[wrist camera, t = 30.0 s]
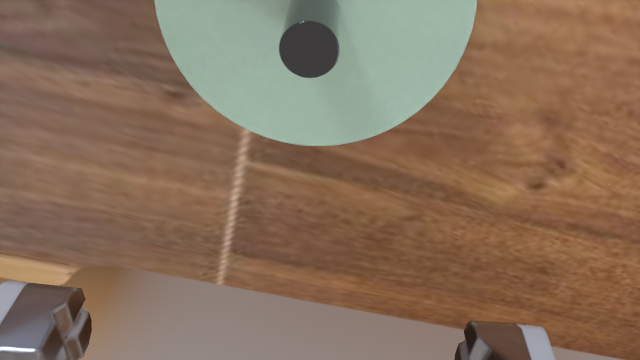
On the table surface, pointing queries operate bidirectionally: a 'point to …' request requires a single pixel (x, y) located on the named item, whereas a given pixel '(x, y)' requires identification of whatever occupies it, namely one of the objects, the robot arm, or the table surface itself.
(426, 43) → the lid
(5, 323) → the robot arm
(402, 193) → the table surface
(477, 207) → the table surface
